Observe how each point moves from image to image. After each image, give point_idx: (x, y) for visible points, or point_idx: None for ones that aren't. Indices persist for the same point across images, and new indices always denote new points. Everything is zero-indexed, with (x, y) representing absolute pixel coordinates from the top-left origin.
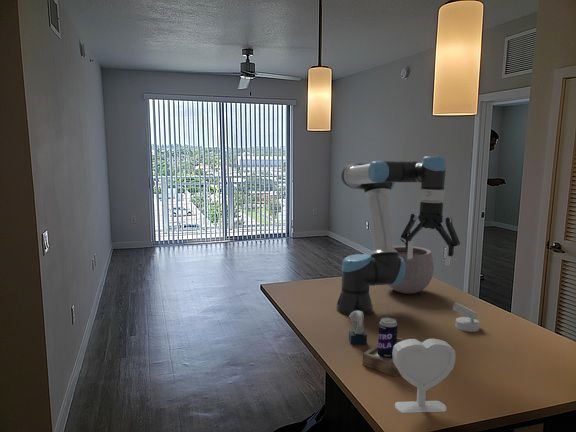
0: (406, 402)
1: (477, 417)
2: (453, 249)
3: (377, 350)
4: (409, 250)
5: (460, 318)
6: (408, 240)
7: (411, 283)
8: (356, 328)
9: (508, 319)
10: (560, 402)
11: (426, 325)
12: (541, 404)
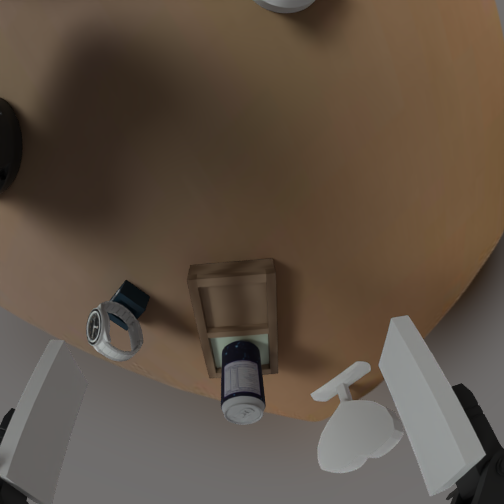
0: (324, 391)
1: None
2: (489, 434)
3: (210, 342)
4: (67, 441)
5: None
6: (22, 500)
7: None
8: (131, 341)
9: None
10: (494, 245)
11: (176, 59)
12: (475, 270)
